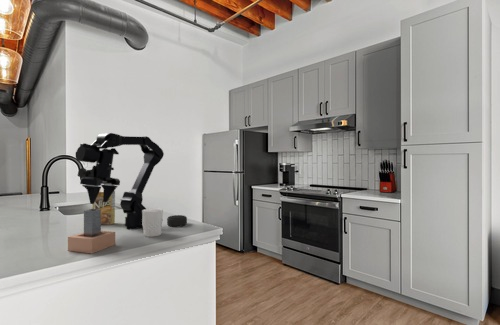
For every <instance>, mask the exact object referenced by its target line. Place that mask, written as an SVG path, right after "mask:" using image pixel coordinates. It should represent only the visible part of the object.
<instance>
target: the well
mask: <svg viewBox="0 0 500 325" xmlns="http://www.w3.org/2000/svg"><path fill="white" fill-rule="evenodd" d="M115 245H116V231H110V230H108V231H107V230H101V235H99V236H95V237H84V231H82V232H81V233H80V232H79V233H77V234H73V235H70V236H67V251H69V252H76V253H77V252H78V253H85V254H95V253H96V252H100V251H102V250H105V249H107V248H110V247H113V246H115Z"/></svg>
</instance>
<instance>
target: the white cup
mask: <svg viewBox="0 0 500 325" xmlns="http://www.w3.org/2000/svg"><path fill="white" fill-rule="evenodd" d="M163 213H164V210H163V208H158V207H157V208H156V207H154V208H146V209H144V210H142V226H143V228H142V229H143V237H147V238H151V237H152V238H154V237H158V236H161V235H162V228H163V215H164V214H163Z"/></svg>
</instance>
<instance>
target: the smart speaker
mask: <svg viewBox="0 0 500 325" xmlns="http://www.w3.org/2000/svg"><path fill="white" fill-rule="evenodd" d="M187 224H188V217H187V216H186V215H183V214H177V215H170V216H168V217H167V218H166V225H168V227H171V226H172V228H176V227H177V226H180V227H183V226H186V225H187ZM177 228H178V227H177Z"/></svg>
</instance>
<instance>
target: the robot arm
mask: <svg viewBox="0 0 500 325" xmlns="http://www.w3.org/2000/svg"><path fill="white" fill-rule="evenodd" d="M135 145H136V146H139V147H140V150H141V152H142V153H143V163H142V166H141V168H140V170H139V172H138V175H137V176H136V179H135V181H134V183H133V185H132V187H131V189H130V190H129V191H124V192H123V195H122V197H121V198H120V199H119V200H120V203H119V205H120V207H121V210H122V211H123V214H126V216H125V217H124V219H125V220H124V227H125V228H126V229H127V230H132V229H141V228H142V229H143V218H142V210H144V209H147V208H146V207H145V206H144V205H143V192H144V190H145V188H146V185H147V183H148V182H149V179H150V177H151V176H152V172H153V170H154V168H155V166H157V165H158V164H159V163H160V162H161V161H162V159H163V157H164V155H165V153H164V150H163V149H162V147H160V146H159V144H157V143H156V142H155V141H153V140H152V139H151V138H150V137H148V136H123V135H121V134H118V133H112V132H111V133H110V132H108V133H99V134H98V135H97V136H96V139H95V140H94V141H93V142H92V143H91V144H88V143H80V145H79V147H78V148H77V149H76V151H75V159H76V161H78V162H82V163H93V164H94V163H95V165H93V166H92V169H86V168H84V167H82V168H79V169H78V171H77V177H79V178H80V182H79V183H80V184H79V185H82V187H83V188H85V189H86V191H87V194H88V199H89V204H90V205H92V204H94V202H95V200H96V198H97V196H98V193H99V191H101V188H102V189H103V191H104V192H103V202H107V200H108V199H109V197H110V196H111V195H112V193H113V192H114V191H116V189H118V186H120V184H121V180H120V179H119V178H115V177H111V175H112V171H114V170H115V168H114V167H113V161H114V155H119V154H120V153H119V152H118V150H117V149H116V147H120V146H135ZM109 148H110V149H109Z"/></svg>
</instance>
